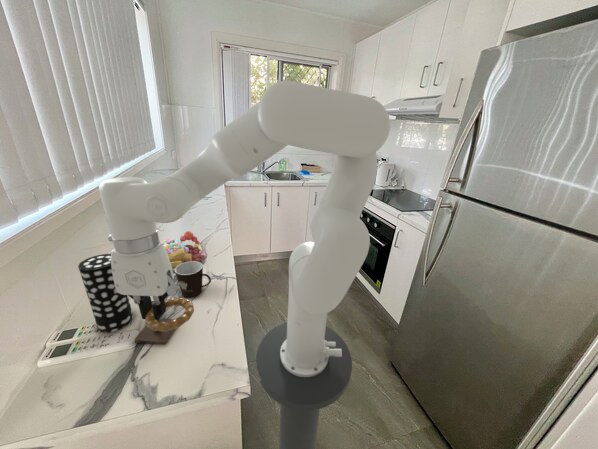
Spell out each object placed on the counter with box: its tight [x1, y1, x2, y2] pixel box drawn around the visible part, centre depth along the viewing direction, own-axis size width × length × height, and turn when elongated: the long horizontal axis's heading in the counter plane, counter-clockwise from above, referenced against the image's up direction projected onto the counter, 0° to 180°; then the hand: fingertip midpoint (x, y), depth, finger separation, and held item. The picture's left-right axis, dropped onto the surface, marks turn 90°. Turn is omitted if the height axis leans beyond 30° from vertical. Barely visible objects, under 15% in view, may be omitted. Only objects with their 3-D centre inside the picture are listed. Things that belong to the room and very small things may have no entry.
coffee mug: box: [174, 261, 212, 299], centre depth 82 cm, size 12×9×10 cm
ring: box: [144, 297, 195, 331], centre depth 54 cm, size 10×10×2 cm
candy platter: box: [160, 230, 205, 272], centre depth 104 cm, size 25×24×9 cm
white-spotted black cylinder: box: [77, 253, 134, 333], centre depth 67 cm, size 8×8×20 cm
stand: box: [133, 300, 176, 345], centre depth 66 cm, size 8×8×10 cm
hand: (154, 314), depth 55 cm, fingers closed on ring, 2 cm apart
